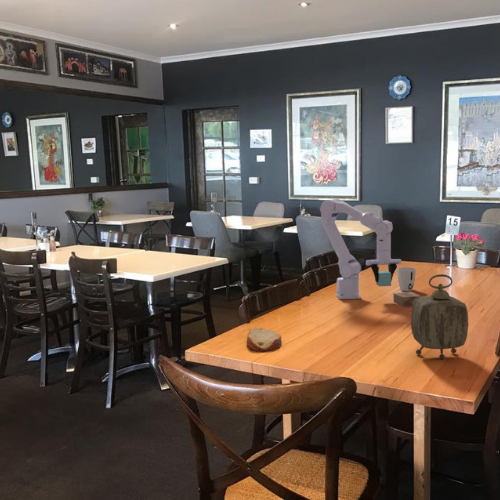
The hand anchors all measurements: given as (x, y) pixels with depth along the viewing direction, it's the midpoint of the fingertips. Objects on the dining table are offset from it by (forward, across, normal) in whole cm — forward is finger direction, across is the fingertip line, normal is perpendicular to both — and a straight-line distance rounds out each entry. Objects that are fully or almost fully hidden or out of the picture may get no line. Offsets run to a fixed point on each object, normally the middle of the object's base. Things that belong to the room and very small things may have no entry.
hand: (383, 281), depth 233 cm
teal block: (+2, 0, 0) cm, 2 cm away
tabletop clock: (+9, -3, -71) cm, 72 cm away
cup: (+9, +16, +19) cm, 26 cm away
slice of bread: (+9, -55, -49) cm, 74 cm away
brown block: (+9, +8, -5) cm, 13 cm away
